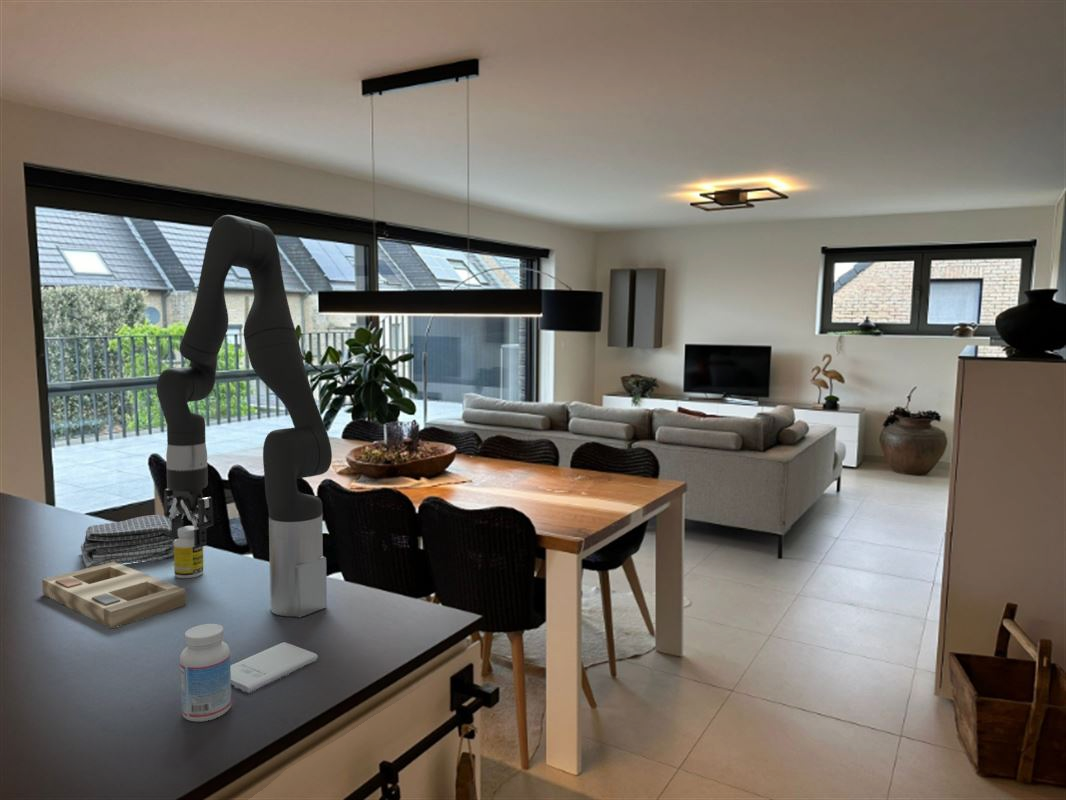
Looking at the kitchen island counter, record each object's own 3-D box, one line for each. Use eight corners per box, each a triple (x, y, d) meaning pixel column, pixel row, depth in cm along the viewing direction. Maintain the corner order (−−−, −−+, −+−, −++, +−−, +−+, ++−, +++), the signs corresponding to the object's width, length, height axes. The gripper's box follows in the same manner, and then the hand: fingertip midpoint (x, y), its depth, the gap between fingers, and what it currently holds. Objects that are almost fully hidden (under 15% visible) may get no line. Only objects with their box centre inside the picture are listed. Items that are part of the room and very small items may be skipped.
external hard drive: (317, 664, 112) (248, 697, 101) (282, 650, 116) (212, 681, 105) (317, 654, 111) (248, 686, 101) (282, 641, 116) (212, 671, 105)
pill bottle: (241, 704, 98) (239, 625, 97) (207, 727, 92) (205, 643, 91) (206, 696, 100) (203, 618, 99) (170, 718, 94) (168, 635, 93)
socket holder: (185, 605, 132) (185, 587, 132) (111, 628, 121) (111, 610, 121) (114, 576, 147) (114, 560, 146) (43, 594, 136) (42, 577, 136)
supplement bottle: (196, 579, 146) (194, 532, 145) (169, 578, 146) (167, 531, 145) (208, 570, 151) (207, 525, 150) (183, 569, 151) (181, 524, 150)
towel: (179, 559, 159) (178, 524, 158) (82, 573, 149) (80, 536, 148) (171, 541, 172) (170, 509, 171) (80, 553, 162) (79, 519, 161)
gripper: (224, 467, 145) (225, 545, 147) (185, 457, 153) (187, 531, 155) (188, 472, 139) (190, 554, 141) (150, 462, 147) (152, 539, 149)
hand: (188, 542), depth 148 cm, fingers open, 8 cm apart
